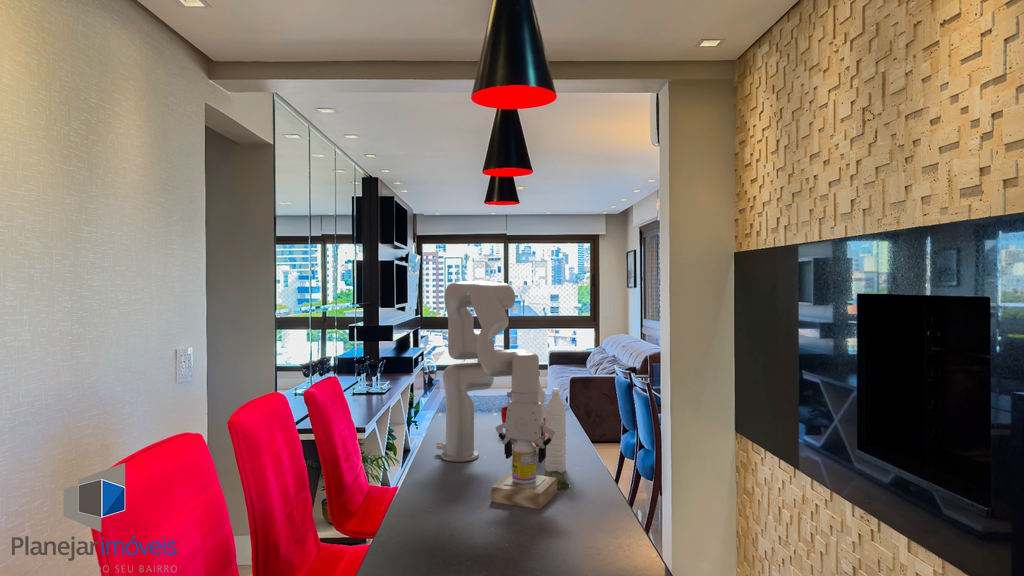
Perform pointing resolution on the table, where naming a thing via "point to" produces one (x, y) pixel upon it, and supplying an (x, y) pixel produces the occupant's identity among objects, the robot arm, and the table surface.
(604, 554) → the table surface
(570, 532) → the table surface
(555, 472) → the seashell
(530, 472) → the supplement bottle
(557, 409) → the water bottle
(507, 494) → the plinth
